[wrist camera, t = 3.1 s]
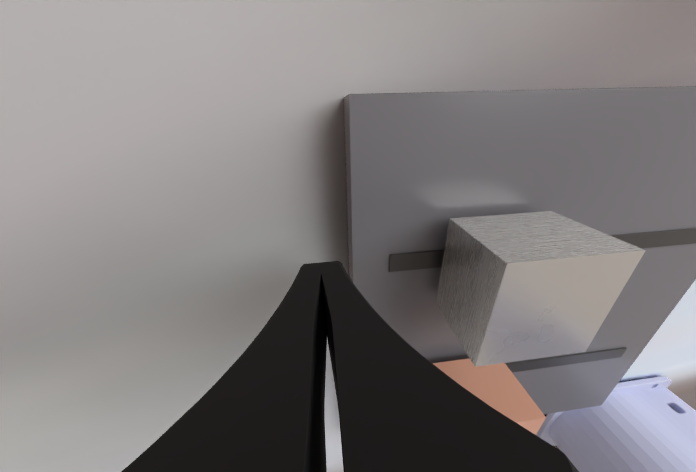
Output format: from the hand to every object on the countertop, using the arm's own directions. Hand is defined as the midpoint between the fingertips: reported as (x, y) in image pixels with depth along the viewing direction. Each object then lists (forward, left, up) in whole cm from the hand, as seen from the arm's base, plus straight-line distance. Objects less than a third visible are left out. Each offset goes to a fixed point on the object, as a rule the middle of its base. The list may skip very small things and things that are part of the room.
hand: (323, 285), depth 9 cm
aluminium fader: (-7, 0, -1) cm, 7 cm away
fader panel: (-10, +4, -3) cm, 11 cm away
